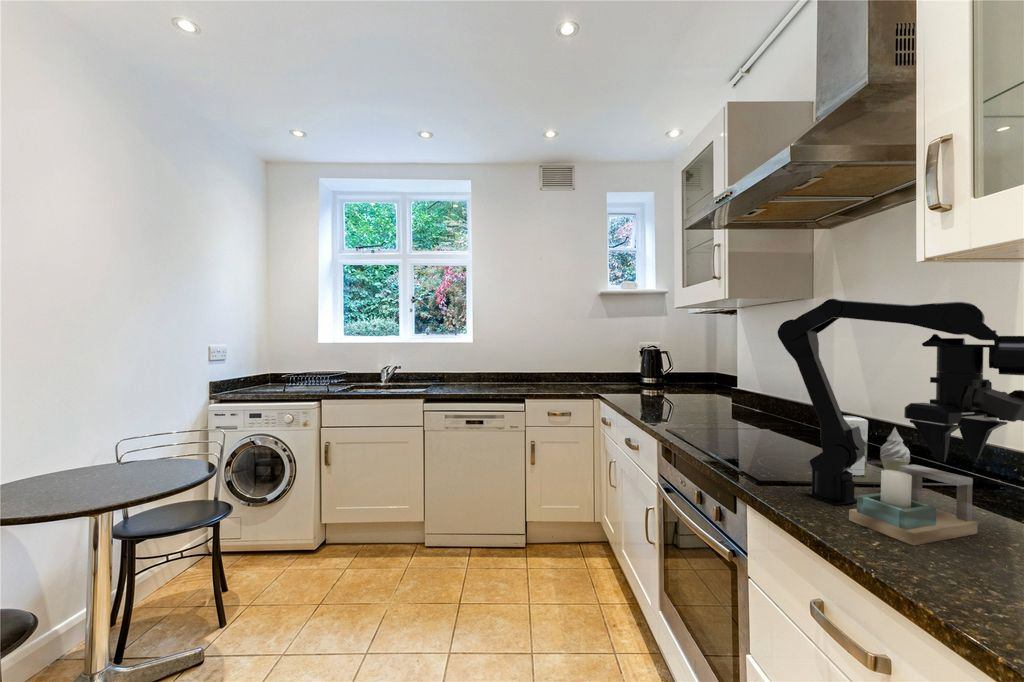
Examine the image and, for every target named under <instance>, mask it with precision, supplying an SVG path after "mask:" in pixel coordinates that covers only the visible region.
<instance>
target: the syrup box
mask: <svg viewBox="0 0 1024 682" xmlns="http://www.w3.org/2000/svg"><path fill="white" fill-rule="evenodd" d="M843 418H844V420H845V421H846V422H847V423H848V425H849V426H850V427H851V428H854V427H857V426H859V428H860V431H861V436H862V439H863V440H864V442H865V443H866V444H867V446H865V447H864V449H865V454H864V456H863V458H862V459H861V460H859V461H858V462H857V463H855V464H854V465H852V466H851V468H850V469H847V471H848V472H850V473H852V475H864V476H863V477H866V476H867V467H868V466H867V464H868V463H867V462H868V459H867V458H868V438H869V437H868V433H869V432H868V431H869V420H867V419H865V418H862V417H860V416H859V417H858V416H854V415H843ZM865 475H866V476H865Z"/></svg>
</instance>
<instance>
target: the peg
mask: <svg viewBox="0 0 1024 682" xmlns="http://www.w3.org/2000/svg"><path fill="white" fill-rule="evenodd" d="M911 487H912V476H911V475H910V474H909V473H904V472H900V471H894V470H884V469H881V474H880V493H881V497H880V502H883V503H886V504H889V505H892V506H895V507H898V508H901V509H908V508H911Z"/></svg>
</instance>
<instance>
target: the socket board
mask: <svg viewBox="0 0 1024 682" xmlns="http://www.w3.org/2000/svg"><path fill="white" fill-rule="evenodd" d="M899 471H901V472H905V473H907V474H910V475H911V476H912V487H911V508H908V509H901V508H898V507H895V506H892V505H889V504H886V503H883V502H880V497H881V492H876V493H869V494H868V493H867V494H861V495H860V494H859V495H856V499H857V502H856V508H851V509H850V508H849V510H848V521H850V522H852V523H855V524H856V525H860V526H863V527H866V528H867V529H870V530H873V531H875V532H877V533H880V534H884V535H885V536H888V537H891V538H893V539H896V540H899V541H900V542H902V543H903V542H904V543H906V544H908V545H910V546H919V545H924V544H928V543H929V544H930V543H934V542H940V541H945V540H949V539H951V540H952V539H958V538H960V537H966V536H972V535H977V534H978V526H979V525H978V524H979V523H978V521H975V520H973V484H974V479H973V477H969V476H965V475H961V474H957V473H951V472H947V471H944V470H939V469H937V468H933V467H927V466H923V465H918V464H916V463H915V464H914V463H913V464H908V465H903V466H899ZM923 478H926V479H929V480H933V481H937V482H941V483H946V484H948V485H949V484H950V485H953V486H956V515H955V514H952V513H949V512H946V511H942V510H940V509H937V507H935V506H933V505H929V504H928V503H927V504H926V503H924V502H923Z"/></svg>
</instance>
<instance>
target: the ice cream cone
mask: <svg viewBox="0 0 1024 682" xmlns="http://www.w3.org/2000/svg"><path fill="white" fill-rule="evenodd" d="M886 440H887V441H886V442H885V443H883V444H882V446H880V447H879V448H880V453H879V454H880V455H879V457H880V461H881V463H882V466H883V470H894V471H899V466H903V465H910V462H911V455H910V454H911V452H910V450H909V448H908V447H907V446H906V445H905V444H904V443H903V442H904V440H903V438H902V437H901V436H900V434H899V432H898V430H897V427H896V426H894V428H893V429H892V431H891V433H890V434H889V436H888V437H887V438H886ZM900 472H901V471H900ZM904 473H905V472H904Z"/></svg>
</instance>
